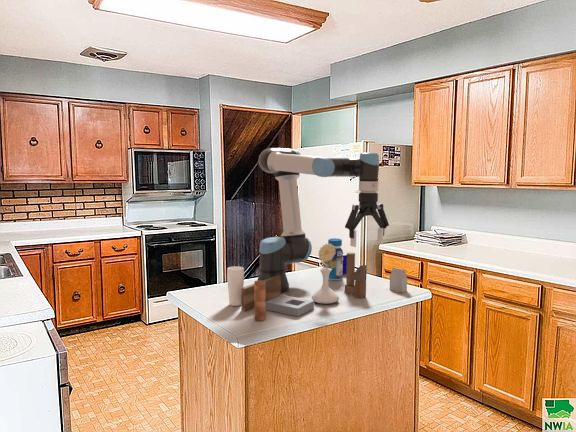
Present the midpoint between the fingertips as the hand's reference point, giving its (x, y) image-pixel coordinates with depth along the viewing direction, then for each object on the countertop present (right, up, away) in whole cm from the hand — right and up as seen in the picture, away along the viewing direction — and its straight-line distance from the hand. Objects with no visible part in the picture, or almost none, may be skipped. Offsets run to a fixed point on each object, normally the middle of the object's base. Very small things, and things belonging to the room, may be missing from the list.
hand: (366, 245), depth 179 cm
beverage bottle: (-8, -20, +45) cm, 50 cm away
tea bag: (+18, -22, +24) cm, 38 cm away
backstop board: (-42, -24, +3) cm, 49 cm away
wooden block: (-2, -23, +16) cm, 28 cm away
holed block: (-31, -25, -4) cm, 40 cm away
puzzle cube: (-6, -19, +59) cm, 62 cm away
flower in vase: (-16, -24, +5) cm, 29 cm away
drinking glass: (-53, -24, +2) cm, 58 cm away
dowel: (-42, -26, -16) cm, 52 cm away
